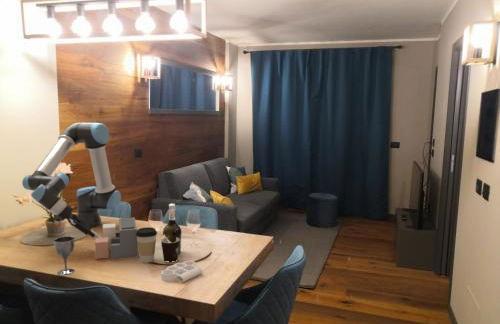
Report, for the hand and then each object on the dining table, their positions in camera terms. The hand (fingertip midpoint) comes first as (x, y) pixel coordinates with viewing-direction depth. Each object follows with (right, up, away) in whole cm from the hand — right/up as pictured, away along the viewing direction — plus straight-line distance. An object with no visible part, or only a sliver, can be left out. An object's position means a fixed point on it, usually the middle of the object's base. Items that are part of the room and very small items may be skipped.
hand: (99, 239), depth 205 cm
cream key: (+5, -5, +2) cm, 7 cm away
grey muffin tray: (+47, -10, -29) cm, 56 cm away
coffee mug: (+40, -8, -11) cm, 42 cm away
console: (+13, -6, 0) cm, 14 cm away
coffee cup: (+28, -8, -13) cm, 32 cm away
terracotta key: (+5, -7, -8) cm, 11 cm away
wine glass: (-5, -9, -27) cm, 29 cm away
